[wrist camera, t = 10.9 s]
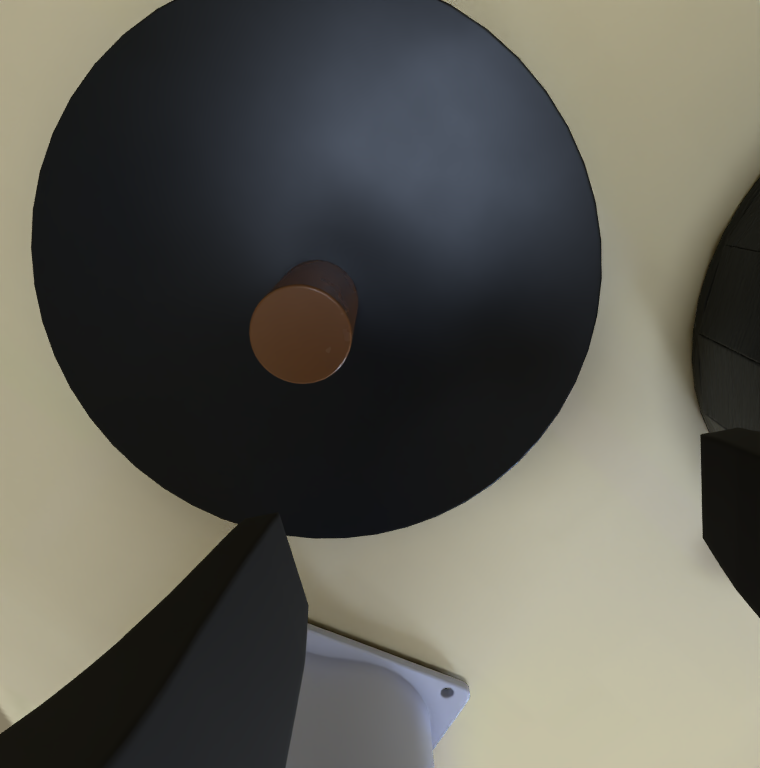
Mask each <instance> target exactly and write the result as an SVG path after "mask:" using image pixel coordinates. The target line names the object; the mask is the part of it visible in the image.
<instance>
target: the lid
mask: <svg viewBox="0 0 760 768" xmlns="http://www.w3.org/2000/svg"><path fill="white" fill-rule="evenodd" d="M31 251H32V262H33V274H34V285H35V290H36V295H37V299H38V304H39V308H40V313H41V317H42V322H43V325H44V327H45V330H46V333H47V336H48V339H49V342H50V344H51V347H52V350H53V353H54V356H55V358H56V360H57V362H58V364H59V366H60V368H61V370H62V372H63V374H64V376H65V378H66V380H67V382H68V384H69V386H70V388H71V390H72V391H73V393H74V394H75V396H76V397H77V399H78V400H79V402H80V403H81V405H82V406H83V408H84V409H85V411H86V412H87V414H88V416H89V417H90V418H91V420H92V421H93V422H94V423H95V424H96V426H97V427H98V428H99V429H100V430H101V432H102V433H103V434H104V435H105V436H106V438H107V439H108V440H109V441H110V442H111V444H112V445H113V446H114V447H116V448H117V449H118V450H119V451H120V452H121V453H122V454H123V455H124V456H125V457H126V458H127V459H128V460H129V461H130V462H131V463H132V464H133V465H134V466H135V467H136V468H138V469H139V470H140V471H142V472H143V473H144V474H146V475H147V476H148V477H150V478H151V479H152V480H154V481H155V482H156V483H157V484H159V485H160V486H161V487H163V488H164V489H166V490H168V491H169V492H171V493H173V494H174V495H176V496H178V497H179V498H181V499H183V500H184V501H186V502H188V503H189V504H191V505H193V506H195V507H197V508H200V509H202V510H204V511H206V512H208V513H210V514H213V515H215V516H217V517H219V518H221V519H224V520H227V521H230V522H233V523H237V524H239V523H241V522H242V521H243V520H244V519H245V518H251V517H256V516H261V515H267V514H272V513H278V512H279V515H280V518H281V521H282V524H283V527H284V530H285V533H286V536H296V537H306V538H351V537H359V536H367V535H375V534H380V533H384V532H389V531H393V530H397V529H401V528H405V527H409V526H412V525H414V524H417V523H420V522H423V521H425V520H428V519H431V518H434V517H437V516H439V515H441V514H443V513H445V512H447V511H449V510H451V509H453V508H455V507H457V506H459V505H461V504H463V503H465V502H466V501H468V500H469V499H471V498H472V497H474V496H476V495H477V494H479V493H480V492H482V491H483V490H485V489H486V488H488V487H489V486H491V485H492V484H493V483H495V482H496V481H497V480H498V479H499V478H501V477H502V476H503V475H504V474H505V473H507V472H508V471H509V470H510V469H511V468H512V467H514V466H515V465H516V464H517V463H518V462H519V461H520V460H521V459H522V458H523V457H524V456H525V455H526V453H527V452H528V451H529V450H530V449H531V448H532V447H533V446H534V445H535V444H536V443H537V442H538V441H539V439H540V438H541V437H542V435H543V434H544V433H545V431H546V430H547V428H548V427H549V426H550V424H551V423H552V422H553V420H554V419H555V417H556V416H557V415H558V413H559V412H560V410H561V408H562V406H563V404H564V403H565V401H566V399H567V397H568V395H569V393H570V392H571V390H572V388H573V386H574V384H575V382H576V380H577V377H578V375H579V372H580V370H581V367H582V365H583V362H584V360H585V357H586V355H587V352H588V349H589V345H590V342H591V338H592V334H593V330H594V326H595V322H596V318H597V313H598V305H599V296H600V288H601V280H602V268H601V236H600V229H599V222H598V215H597V208H596V202H595V198H594V195H593V191H592V188H591V184H590V181H589V177H588V174H587V170H586V167H585V164H584V161H583V159H582V157H581V154H580V152H579V150H578V148H577V145H576V143H575V141H574V139H573V136H572V134H571V132H570V129H569V127H568V125H567V124H566V122H565V120H564V119H563V117H562V116H561V114H560V112H559V111H558V109H557V107H556V106H555V104H554V103H553V101H552V99H551V98H550V96H549V95H548V93H547V91H546V90H545V89H544V88H543V86H542V85H541V84H540V83H539V82H538V80H537V79H536V78H535V77H534V75H533V74H532V73H531V72H530V71H529V69H528V68H527V67H526V66H525V65H524V63H523V62H522V61H521V60H520V59H519V58H518V57H517V56H516V55H515V54H514V53H513V52H512V51H511V50H510V49H509V48H507V47H506V46H505V45H504V44H503V43H502V42H501V41H500V40H499V39H497V38H496V37H495V36H494V35H493V34H492V33H491V32H490V31H489V30H487V29H486V28H485V27H483V26H482V25H480V24H479V23H477V22H476V21H474V20H473V19H471V18H470V17H468V16H467V15H465V14H464V13H462V12H461V11H459V10H458V9H456V8H455V7H453V6H452V5H450V4H448V3H446V2H444V1H442V0H173V1H171V2H169V3H167V4H165V5H164V6H162V7H160V8H158V9H156V10H155V11H154V12H152V13H151V14H150V15H148V16H147V17H146V18H144V19H143V20H142V21H141V22H139V23H138V24H137V25H135V26H134V27H133V28H131V29H130V30H129V31H127V32H126V33H125V34H123V35H122V36H121V37H120V38H119V40H118V41H117V42H116V43H115V44H114V45H113V46H112V47H111V48H110V49H109V50H108V51H107V52H106V53H105V54H104V55H103V56H102V57H101V58H100V59H99V60H98V61H97V62H96V63H95V64H94V66H93V67H92V69H91V70H90V71H89V73H88V74H87V76H86V77H85V78H84V80H83V81H82V83H81V84H80V85H79V87H78V88H77V90H76V91H75V92H74V94H73V95H72V97H71V98H70V100H69V102H68V104H67V106H66V108H65V110H64V112H63V114H62V116H61V118H60V120H59V122H58V124H57V126H56V128H55V130H54V132H53V134H52V137H51V140H50V143H49V146H48V149H47V152H46V155H45V158H44V161H43V164H42V167H41V170H40V174H39V179H38V185H37V190H36V196H35V201H34V207H33V220H32V242H31Z"/></svg>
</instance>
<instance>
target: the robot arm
mask: <svg viewBox="0 0 760 768" xmlns="http://www.w3.org/2000/svg"><path fill="white" fill-rule="evenodd" d="M701 479H702V524H703V539H704V541H705V542H706V544H707V545H708V547H709V549H710V550H711V552H712V553H713V555H714V557H715V558H716V560H717V561H718V563H719V565H720V566H721V568H722V569H723V571H724V572H725V574H726V575H727V577H728V578H729V580H730V581H731V583H732V584H733V586H734V587H735V588H736V590H737V591H738V592H739V594H740V595H741V596H742V597H743V599H744V600H745V601H746V602H747V603H748V605H749V606H750V607H751V608H752V609H753V611H754V612H755V613H756V614H757V615H758V616H759V618H760V432H758V431H754V430H749V429H744V428H733V429H728V430H723V431H717V432H712V433H706V434H701ZM444 688H450V689H444ZM469 698H470V691H469V686H468V685H467V683H465V682H463V681H461V680H458V679H456V678H453V677H450V676H448V675H445V674H442V673H440V672H437V671H434V670H432V669H429V668H426V667H424V666H421V665H418V664H416V663H413V662H410V661H408V660H405V659H402V658H400V657H397V656H394V655H392V654H389V653H386V652H384V651H381V650H378V649H376V648H373V647H370V646H368V645H365V644H362V643H360V642H357V641H354V640H352V639H349V638H346V637H344V636H341V635H338V634H336V633H333V632H330V631H328V630H325V629H322V628H320V627H317V626H314V625H312V624H309V623H308V603H307V600H306V597H305V593H304V590H303V587H302V584H301V581H300V578H299V574H298V571H297V568H296V565H295V562H294V559H293V556H292V552H291V549H290V546H289V543H288V540H287V537H286V533H285V530H284V527H283V524H282V521H281V518H280V515H279V512H278V513H272V514H267V515H261V516H256V517H251V518H245V519H244V520H243V521H242V522H241V523H239V524H238V525H237V526H236V527H235V528H234V529H233V530H232V531H231V532H230V533H229V534H228V535H227V536H226V537H225V538H224V539H223V540H222V541H221V542H220V543H219V544H218V545H217V546H216V547H215V548H214V549H213V550H212V551H211V552H210V553H209V554H208V555H207V556H206V557H205V558H204V559H203V560H202V561H201V562H200V563H199V564H198V565H197V566H196V567H195V568H194V569H193V570H192V571H191V572H190V574H189V575H188V576H187V577H186V578H185V579H184V580H183V581H182V582H181V583H180V584H179V585H178V586H177V587H176V588H175V589H174V590H173V591H172V592H171V593H170V594H169V595H168V596H167V597H166V598H164V599H163V600H162V601H161V602H160V603H159V604H158V605H157V606H156V607H155V608H154V609H153V610H152V611H151V612H150V613H148V614H147V615H146V616H145V617H144V618H143V619H142V620H141V621H140V622H139V623H138V624H137V625H136V626H135V627H133V628H132V629H131V630H130V631H129V632H128V633H127V634H126V635H125V636H124V637H123V638H122V639H121V640H120V641H118V642H117V643H116V644H115V645H114V646H113V647H112V648H110V649H109V650H108V651H107V652H106V653H105V654H104V655H102V656H101V657H100V658H99V659H98V660H96V661H95V662H94V663H93V664H92V665H91V666H89V667H88V668H87V669H86V670H84V671H83V672H82V673H81V674H79V675H78V676H77V677H76V678H74V679H73V680H72V681H71V682H69V683H68V684H67V685H66V686H64V687H63V688H62V689H61V690H59V691H58V692H57V693H56V694H54V695H53V696H52V697H51V698H49V699H48V700H47V701H45V702H44V703H43V704H41V705H40V706H39V707H37V708H36V709H35V710H33V711H32V712H30V713H29V714H28V715H26V716H25V717H23V718H22V719H21V720H19V721H18V722H16V723H15V724H14V725H12V726H11V727H9V728H8V729H7V730H5V731H4V732H2V733H1V734H0V768H434V759H433V749H434V748H435V747H436V745H437V744H438V742H439V741H440V740H441V738H442V737H443V735H444V734H445V733H446V731H447V730H448V728H449V727H450V725H451V724H452V723H453V721H454V720H455V718H456V717H457V716H458V714H459V713H460V711H461V710H462V709H463V707H464V706H465V704H466V703H467V701H468V700H469Z"/></svg>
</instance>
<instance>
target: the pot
mask: <svg viewBox="0 0 760 768" xmlns="http://www.w3.org/2000/svg"><path fill="white" fill-rule="evenodd" d="M692 364H693V374H694V384H695V390H696V394H697V398H698V402H699V406H700V409H701V413H702V416H703V418H704V420H705V423H706V425H707V427H708V430H709V432H710V433H712V432H717V431H723V430H728V429H733V428H744V429H749V430H754V431H758V432H760V178H759V179H758V181H757V182H756V183H755V185H754V186H753V187H752V189H751V190H750V191H749V193H748V194H747V195H746V197H745V198H744V199H743V201H742V203H741V204H740V206H739V208H738V209H737V211H736V213H735V215H734V216H733V218H732V220H731V221H730V223H729V225H728V226H727V228H726V230H725V232H724V233H723V236H722V238H721V240H720V242H719V245H718V247H717V249H716V251H715V254H714V256H713V258H712V260H711V262H710V265H709V268H708V271H707V274H706V277H705V280H704V283H703V287H702V290H701V293H700V296H699V301H698V306H697V312H696V317H695V323H694V328H693V348H692Z"/></svg>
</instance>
